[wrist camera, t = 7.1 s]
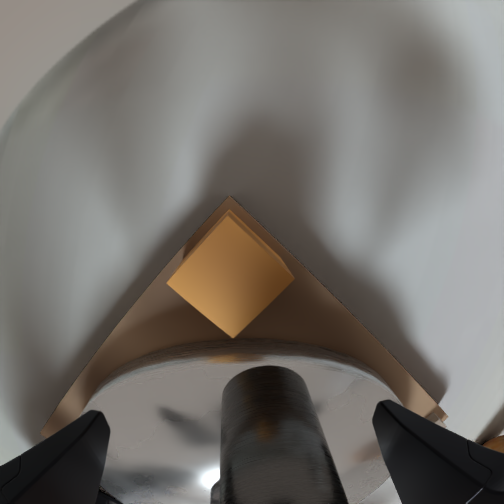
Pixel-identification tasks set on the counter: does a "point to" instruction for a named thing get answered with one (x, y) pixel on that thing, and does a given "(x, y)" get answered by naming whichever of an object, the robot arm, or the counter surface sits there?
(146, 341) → the dial base
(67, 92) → the counter surface
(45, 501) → the robot arm
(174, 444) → the dial
